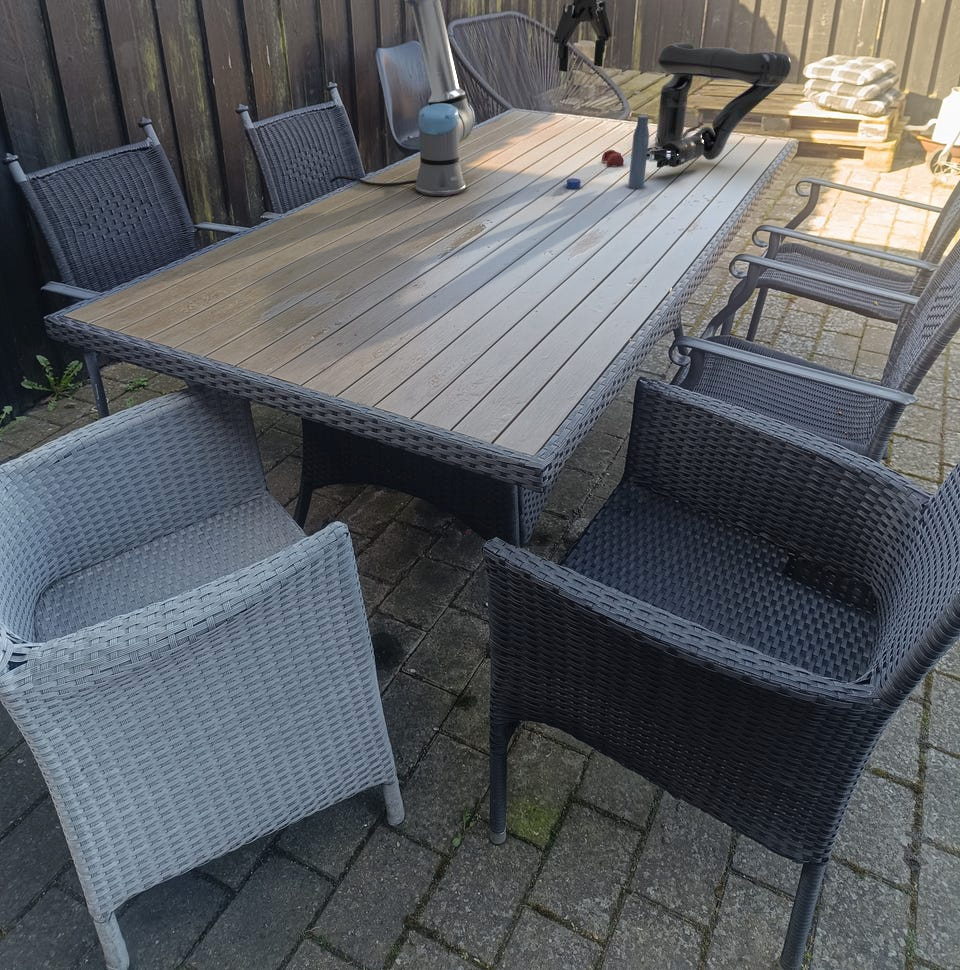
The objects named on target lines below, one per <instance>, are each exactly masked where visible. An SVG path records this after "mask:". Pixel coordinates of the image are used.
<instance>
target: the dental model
mask: <svg viewBox="0 0 960 970" xmlns="http://www.w3.org/2000/svg"><path fill="white" fill-rule="evenodd" d="M601 162H603V163H605V162H606V165H607V166H608V167H611V166H624V162H625V160H624V158H623V156H622V153H621V152H618V151H616V150H614V149H608V150H605V151H604V152H603V154H602V156H601Z"/></svg>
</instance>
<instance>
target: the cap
mask: <svg viewBox="0 0 960 970" xmlns="http://www.w3.org/2000/svg"><path fill="white" fill-rule="evenodd" d="M581 181H582V180H581V179H580V178H575V177H573V178H568V179H566V188H567V189H569V190H578V189H579V190H580V188H581Z"/></svg>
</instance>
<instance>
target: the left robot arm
mask: <svg viewBox="0 0 960 970" xmlns="http://www.w3.org/2000/svg"><path fill="white" fill-rule="evenodd" d="M403 1H404V2H405V3H407V5H409V6H410V8H411V12H412V16H413V20H414V24H415V28H416V34H417V37H418V42H419V46H420V50H421V51H420V52H421V55H422V59H423V64H424V67H425V72H426V75H427V80H428V84H429V85H428V86H429V89H430V93H431V94H430V97H429V99H428V101H427V102H428V105H425V106H424V107H422V108H421V109H420V111H419V113H418V122H417V124H418V136H419V138H418V139H419V157H420V158H419V159H420V161H419V162H420V164H419V168H418V172H417V176H416V179H412V180H405V181H399V182H372V181H367V180H364V179H362V178H358V177H352V176H348V175H347V176H346V175H336V176H334V177H332V178H331V179H330V181H329V183H335V181H337V180H346V181H353V182H359V183H361V184H363V185H367V186H372V187H397V186H398V187H399V186H405V185H412V184H415V185H414V186H415V192H417V193H418V194H420V195H424V196H430V197H450V196H455V195H459V194H461V193H463V192H464V191H466V181H465V179H464V176H463V172H462V169H461V165H460V143H461V142H462V141H464V140H466V139H467V138H468V137H469V136H470V134H471V133H472V131H473V129H474V127H475V122H476V116H475V115H476V114H475V111H474V108H473V107H472V105H471V104H470V103H469V102H468V99H467V95H466V94H467V93H466V91H465V90H463V89H462V88H461V87H460V85H459V80H458V75H457V71H456V67H455V62H454V58H453V57H454V56H453V53H452V49H451V45H450V39H449V35H448V30H447V26H446V25H447V24H446V21H445V16H444V11H443V7H442V2H441V0H403ZM606 5H607V3H606V1H602V0H572V4H567V3H564V4H563V8H562V13H561V16H560V20H559V22H558V25H557V28H556V31H555V34H554V36H553V38H552V43H553V44H556V45H557V46H558V52H557V53H558V54H557V57H558V60H559V61H558V62H559V63H558V71H560V72H564V73H567V72H568V65H569V47H570V45H567V44H568V42H569V41H570V39H571V38H572V36H573V34H574V32H575V31H576V28H577V27H578V25H580V24H581V23H585V22H589V24H590V26H591V27H592V29H593V32H594V34H595V36H596V37H597V39H596V40H595V45H594V57H593V58H594V59H593V66H595V67H603V62H604V61H603V60H604V54H605V49H606V42H608V41H609V40H610V38H611V37H612V36H613V34H612V31H611V30H612V29H611V26H610V23H609V18H608V15H607V9H606V7H607V6H606Z"/></svg>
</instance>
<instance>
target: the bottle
mask: <svg viewBox="0 0 960 970" xmlns="http://www.w3.org/2000/svg"><path fill="white" fill-rule="evenodd" d="M649 119H650V118H649V115H645V114H640V115H638V116H637V119H636V120H637V123H636V126H635V128H634V131H633V135H632V143H631V144H632V145H631V153H630V164H629V173H628V184H627V187H628V188H629V189H633V190H640V189H643V188H644V187H645V177H646V169H647V161H648V160H647V158H648V157H647V151H648V148H649V142H650V131H649V126H648V125H649Z"/></svg>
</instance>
